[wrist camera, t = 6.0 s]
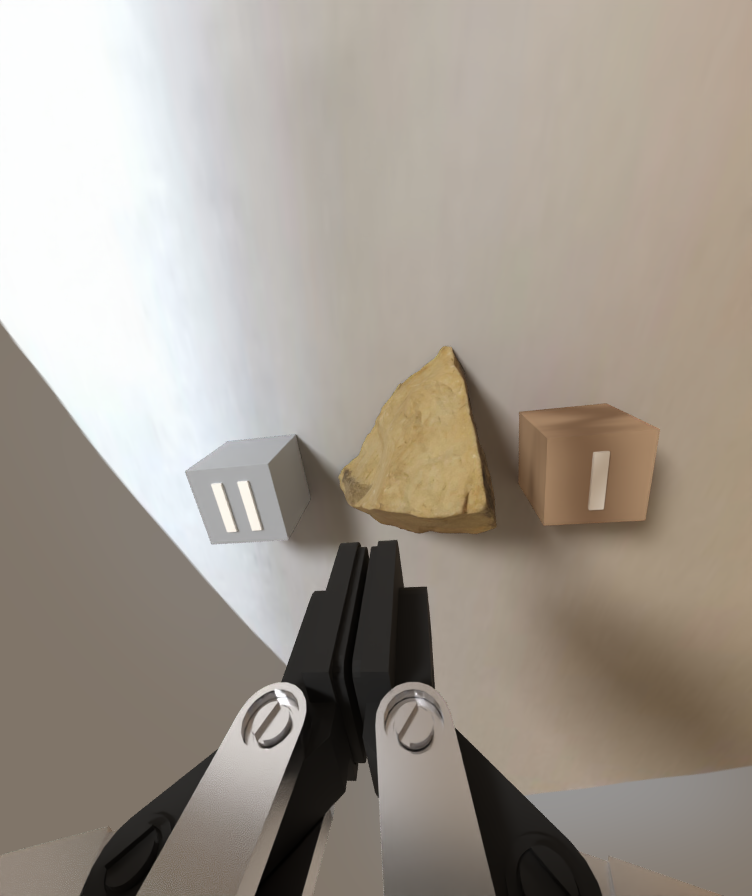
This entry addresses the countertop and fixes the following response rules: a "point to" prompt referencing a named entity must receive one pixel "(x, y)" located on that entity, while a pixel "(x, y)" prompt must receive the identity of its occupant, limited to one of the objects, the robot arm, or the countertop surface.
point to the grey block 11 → (251, 490)
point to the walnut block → (586, 464)
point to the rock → (425, 458)
